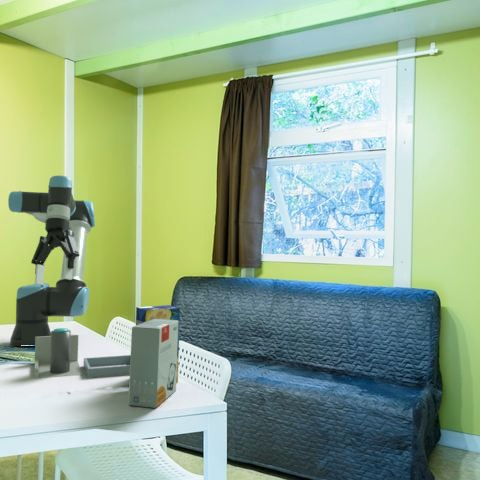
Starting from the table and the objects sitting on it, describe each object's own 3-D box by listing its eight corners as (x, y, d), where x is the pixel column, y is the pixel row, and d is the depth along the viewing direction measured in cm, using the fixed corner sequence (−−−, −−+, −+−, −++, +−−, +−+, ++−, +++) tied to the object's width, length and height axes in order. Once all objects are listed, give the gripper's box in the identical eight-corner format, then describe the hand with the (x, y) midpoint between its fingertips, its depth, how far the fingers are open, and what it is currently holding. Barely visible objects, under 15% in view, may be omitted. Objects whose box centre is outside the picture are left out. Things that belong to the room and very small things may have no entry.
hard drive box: (156, 409, 119) (158, 328, 119) (127, 406, 120) (129, 327, 120) (177, 390, 134) (178, 319, 134) (151, 388, 136) (153, 317, 136)
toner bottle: (49, 369, 147) (50, 328, 147) (69, 368, 149) (70, 327, 149) (50, 374, 141) (51, 331, 141) (70, 372, 144) (71, 330, 144)
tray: (83, 370, 151) (83, 358, 151) (133, 366, 158) (133, 354, 158) (87, 382, 139) (88, 369, 139) (141, 378, 145) (142, 364, 145)
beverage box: (133, 381, 141) (135, 307, 141) (167, 376, 148) (169, 305, 148) (144, 388, 136) (146, 310, 136) (178, 382, 142) (180, 307, 142)
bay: (34, 367, 153) (35, 336, 153) (77, 364, 158) (78, 334, 158) (34, 383, 137) (35, 348, 137) (82, 379, 142) (83, 345, 142)
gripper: (23, 223, 165) (17, 284, 159) (75, 209, 154) (71, 274, 148) (42, 229, 172) (37, 287, 166) (92, 216, 160) (89, 278, 154)
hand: (53, 281), depth 157 cm, fingers open, 13 cm apart
